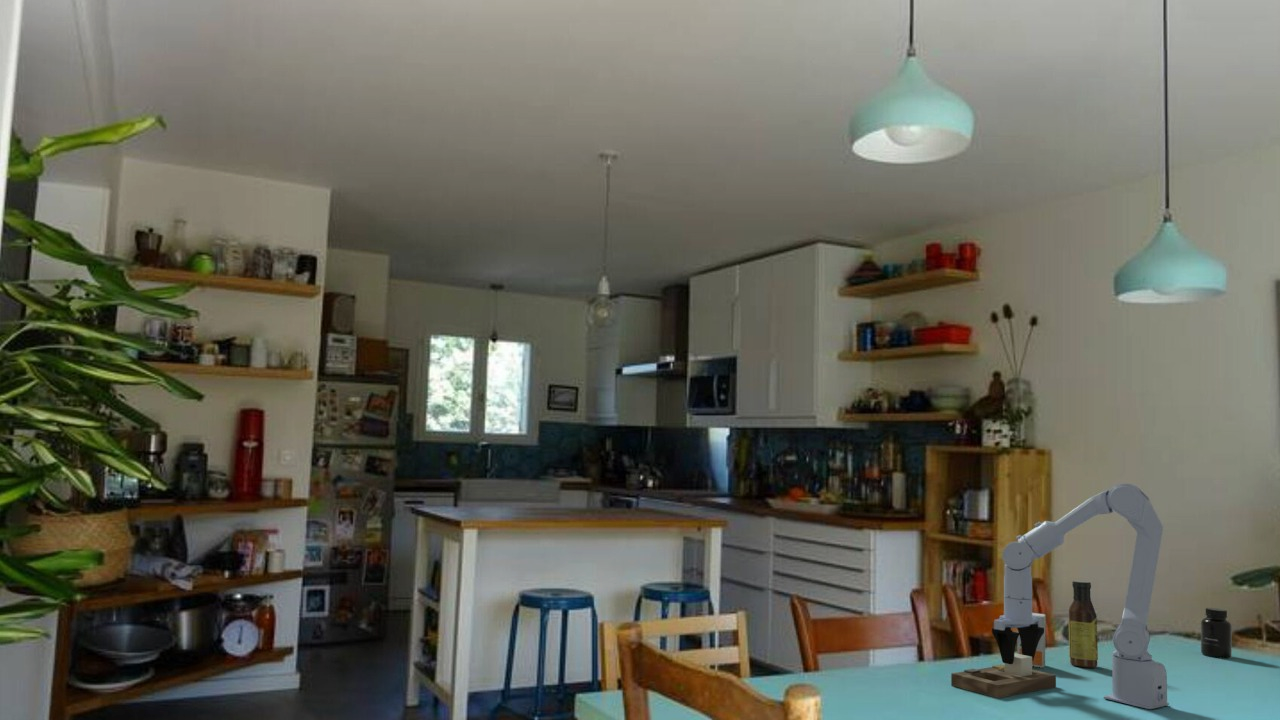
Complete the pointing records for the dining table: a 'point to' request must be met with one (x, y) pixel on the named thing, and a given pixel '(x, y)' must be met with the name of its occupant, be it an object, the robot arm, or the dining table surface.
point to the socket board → (1002, 682)
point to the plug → (1020, 665)
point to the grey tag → (972, 671)
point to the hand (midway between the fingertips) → (1018, 661)
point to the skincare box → (1040, 651)
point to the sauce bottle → (1082, 627)
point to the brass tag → (999, 666)
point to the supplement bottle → (1216, 634)
